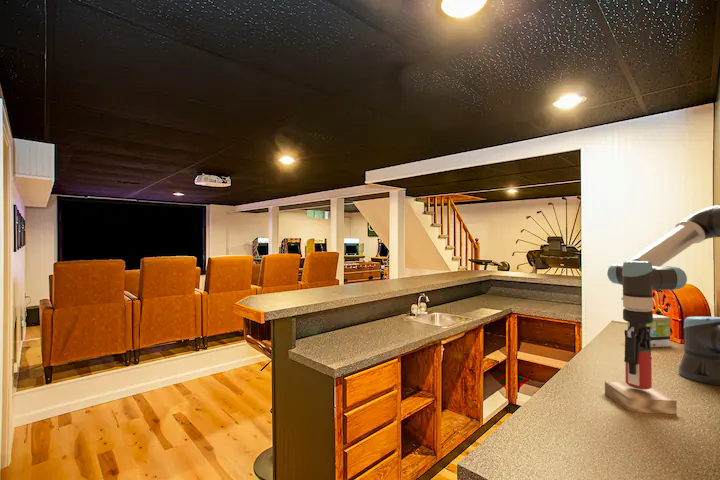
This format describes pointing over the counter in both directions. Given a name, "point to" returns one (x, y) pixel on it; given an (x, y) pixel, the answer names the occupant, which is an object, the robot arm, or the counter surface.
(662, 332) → the tea box
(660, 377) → the counter surface
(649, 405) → the maple base
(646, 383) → the beer can
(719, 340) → the robot arm
